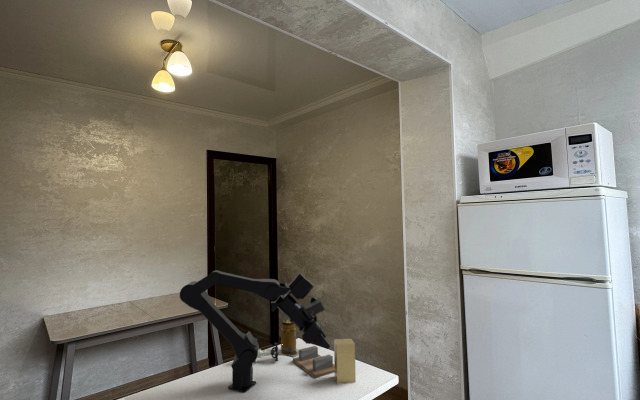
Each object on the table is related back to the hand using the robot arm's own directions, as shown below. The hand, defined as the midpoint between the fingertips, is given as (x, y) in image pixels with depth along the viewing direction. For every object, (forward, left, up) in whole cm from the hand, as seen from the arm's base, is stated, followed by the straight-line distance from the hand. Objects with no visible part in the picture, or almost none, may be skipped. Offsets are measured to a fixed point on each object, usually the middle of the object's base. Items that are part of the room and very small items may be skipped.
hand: (327, 342), depth 106 cm
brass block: (+3, -5, -12) cm, 13 cm away
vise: (+8, +8, -12) cm, 17 cm away
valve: (+4, +28, -12) cm, 31 cm away
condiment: (+16, +23, -12) cm, 30 cm away
